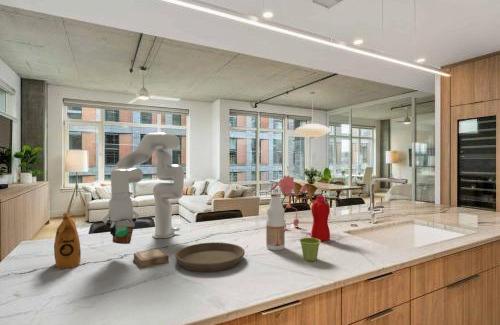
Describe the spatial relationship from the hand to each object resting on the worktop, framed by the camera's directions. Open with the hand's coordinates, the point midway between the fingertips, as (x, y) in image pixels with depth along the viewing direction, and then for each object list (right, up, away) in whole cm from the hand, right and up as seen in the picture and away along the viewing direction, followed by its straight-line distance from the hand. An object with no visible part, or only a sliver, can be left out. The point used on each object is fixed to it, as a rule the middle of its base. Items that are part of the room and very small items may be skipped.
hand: (121, 233), depth 135 cm
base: (+15, -11, -4) cm, 19 cm away
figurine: (+84, -11, +61) cm, 104 cm away
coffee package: (-20, -12, -8) cm, 25 cm away
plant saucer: (+41, -12, -3) cm, 43 cm away
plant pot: (+87, -12, -1) cm, 88 cm away
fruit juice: (+72, -11, +15) cm, 75 cm away
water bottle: (+100, -11, +30) cm, 105 cm away
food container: (-1, -4, -1) cm, 4 cm away
